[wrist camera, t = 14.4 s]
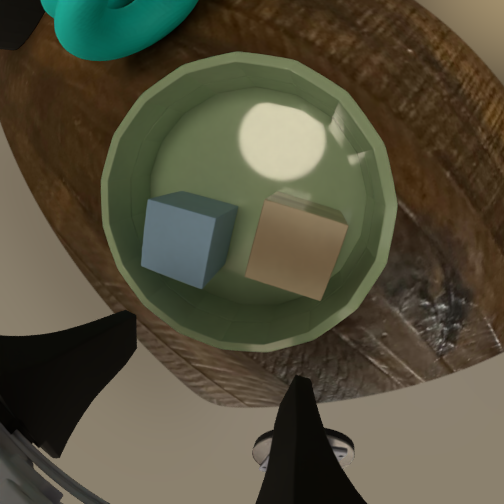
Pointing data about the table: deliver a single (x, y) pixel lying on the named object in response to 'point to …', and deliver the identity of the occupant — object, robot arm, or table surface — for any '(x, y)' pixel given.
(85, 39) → the donuts
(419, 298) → the table surface
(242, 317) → the green shallow bowl
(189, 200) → the blue block
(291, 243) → the brown block
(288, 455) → the robot arm
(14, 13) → the vase
